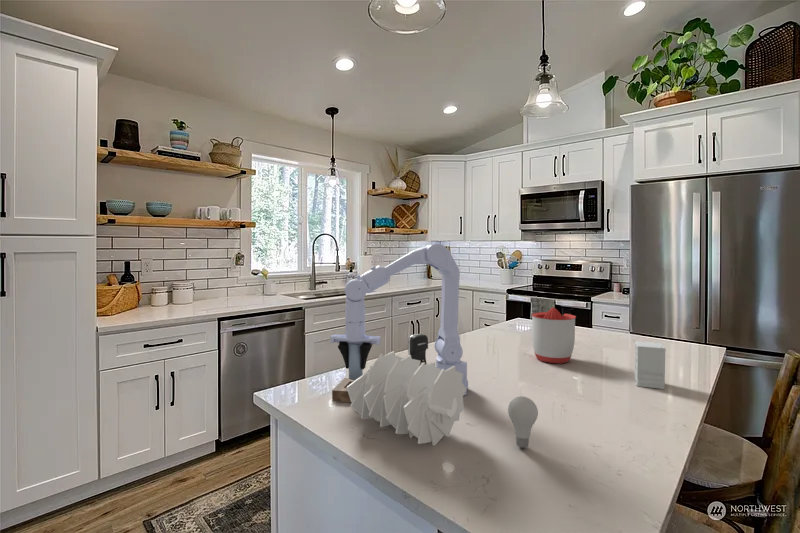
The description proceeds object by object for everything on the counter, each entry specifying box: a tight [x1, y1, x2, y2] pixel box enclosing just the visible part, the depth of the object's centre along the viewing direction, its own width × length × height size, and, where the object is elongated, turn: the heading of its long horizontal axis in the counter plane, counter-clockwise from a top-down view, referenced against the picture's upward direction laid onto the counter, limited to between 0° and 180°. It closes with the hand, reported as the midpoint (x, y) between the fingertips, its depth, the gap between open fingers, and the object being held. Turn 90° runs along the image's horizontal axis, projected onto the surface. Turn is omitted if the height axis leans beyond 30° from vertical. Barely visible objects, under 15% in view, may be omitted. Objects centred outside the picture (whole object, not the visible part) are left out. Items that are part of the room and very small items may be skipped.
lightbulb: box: [507, 395, 539, 449], centre depth 86 cm, size 6×6×11 cm
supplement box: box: [634, 340, 667, 390], centre depth 125 cm, size 7×7×13 cm
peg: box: [348, 343, 364, 380], centre depth 117 cm, size 4×4×10 cm
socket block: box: [331, 377, 355, 403], centre depth 117 cm, size 11×11×3 cm
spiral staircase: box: [347, 350, 466, 447], centre depth 94 cm, size 18×18×25 cm
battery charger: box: [407, 333, 429, 365], centre depth 145 cm, size 7×4×11 cm, turn 125°
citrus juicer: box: [531, 306, 577, 365], centre depth 153 cm, size 16×17×20 cm
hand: (355, 367), depth 117 cm, fingers closed on peg, 4 cm apart
